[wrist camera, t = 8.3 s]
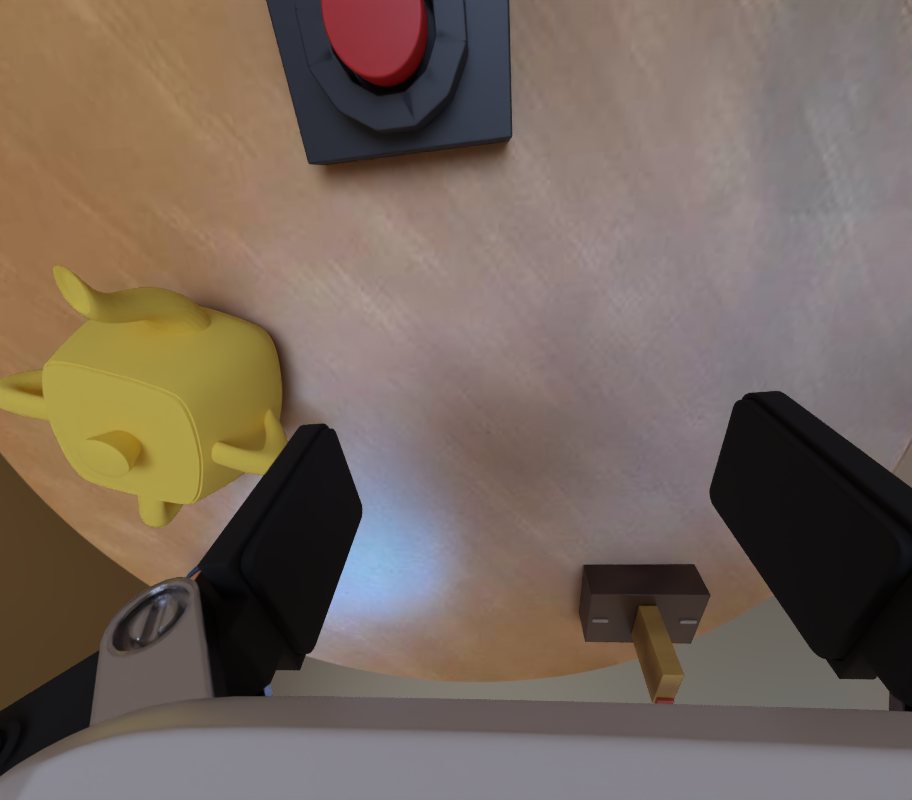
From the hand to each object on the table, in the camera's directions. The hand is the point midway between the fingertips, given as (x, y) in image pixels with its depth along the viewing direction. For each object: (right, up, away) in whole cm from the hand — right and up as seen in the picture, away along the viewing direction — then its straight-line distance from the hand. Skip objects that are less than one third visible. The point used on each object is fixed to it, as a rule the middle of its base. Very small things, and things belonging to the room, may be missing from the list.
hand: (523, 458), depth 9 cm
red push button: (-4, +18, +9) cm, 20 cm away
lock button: (-5, +16, +5) cm, 17 cm away
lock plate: (+16, -18, +28) cm, 37 cm away
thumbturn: (+16, -19, +26) cm, 36 cm away
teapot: (-19, +4, +18) cm, 26 cm away
